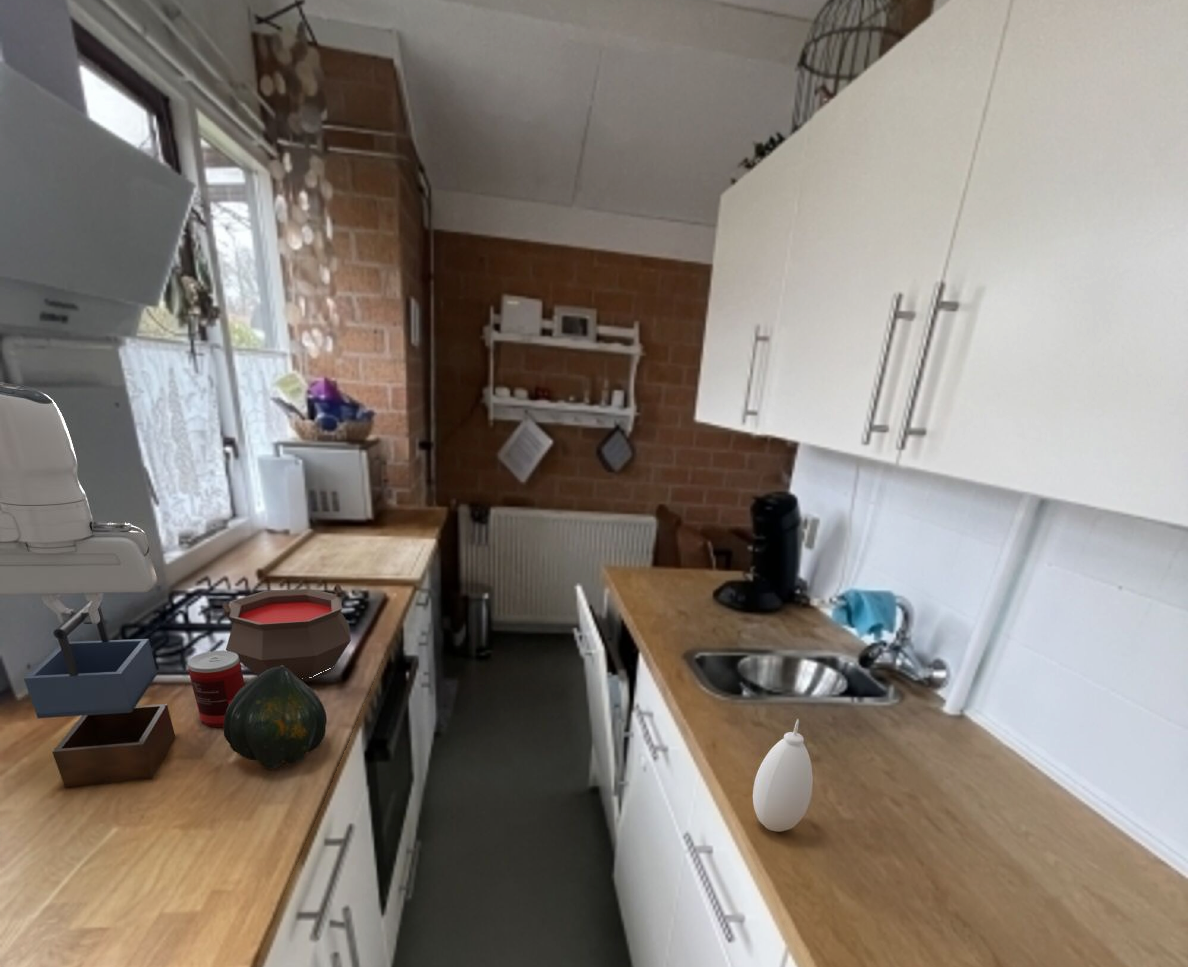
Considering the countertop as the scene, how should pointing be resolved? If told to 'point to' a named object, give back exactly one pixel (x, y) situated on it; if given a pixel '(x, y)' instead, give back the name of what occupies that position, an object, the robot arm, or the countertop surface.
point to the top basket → (91, 674)
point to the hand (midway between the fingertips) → (80, 623)
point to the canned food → (215, 684)
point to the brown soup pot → (288, 631)
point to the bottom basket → (115, 746)
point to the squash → (275, 719)
